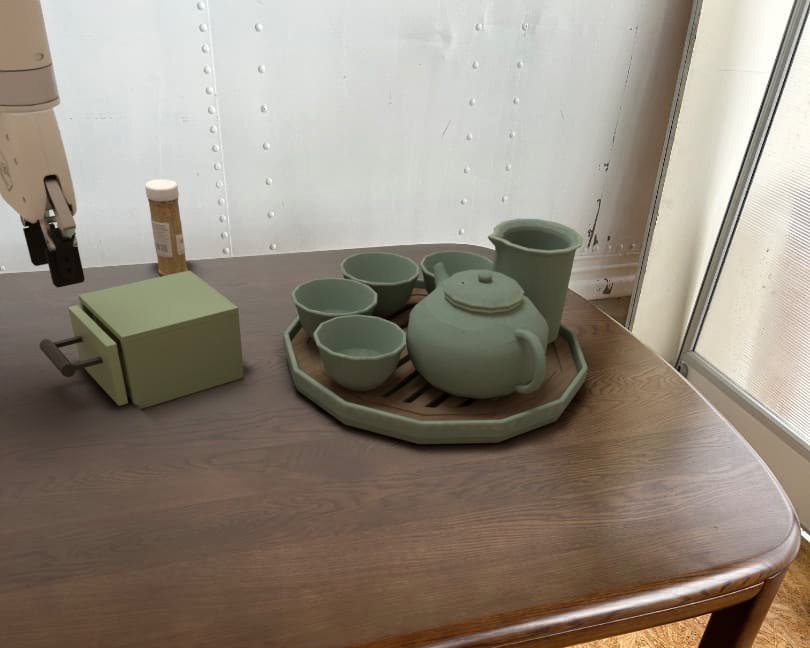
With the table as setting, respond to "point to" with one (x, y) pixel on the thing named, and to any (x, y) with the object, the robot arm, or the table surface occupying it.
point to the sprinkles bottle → (166, 226)
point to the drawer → (92, 354)
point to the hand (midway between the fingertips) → (58, 271)
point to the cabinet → (170, 335)
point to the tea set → (443, 339)
